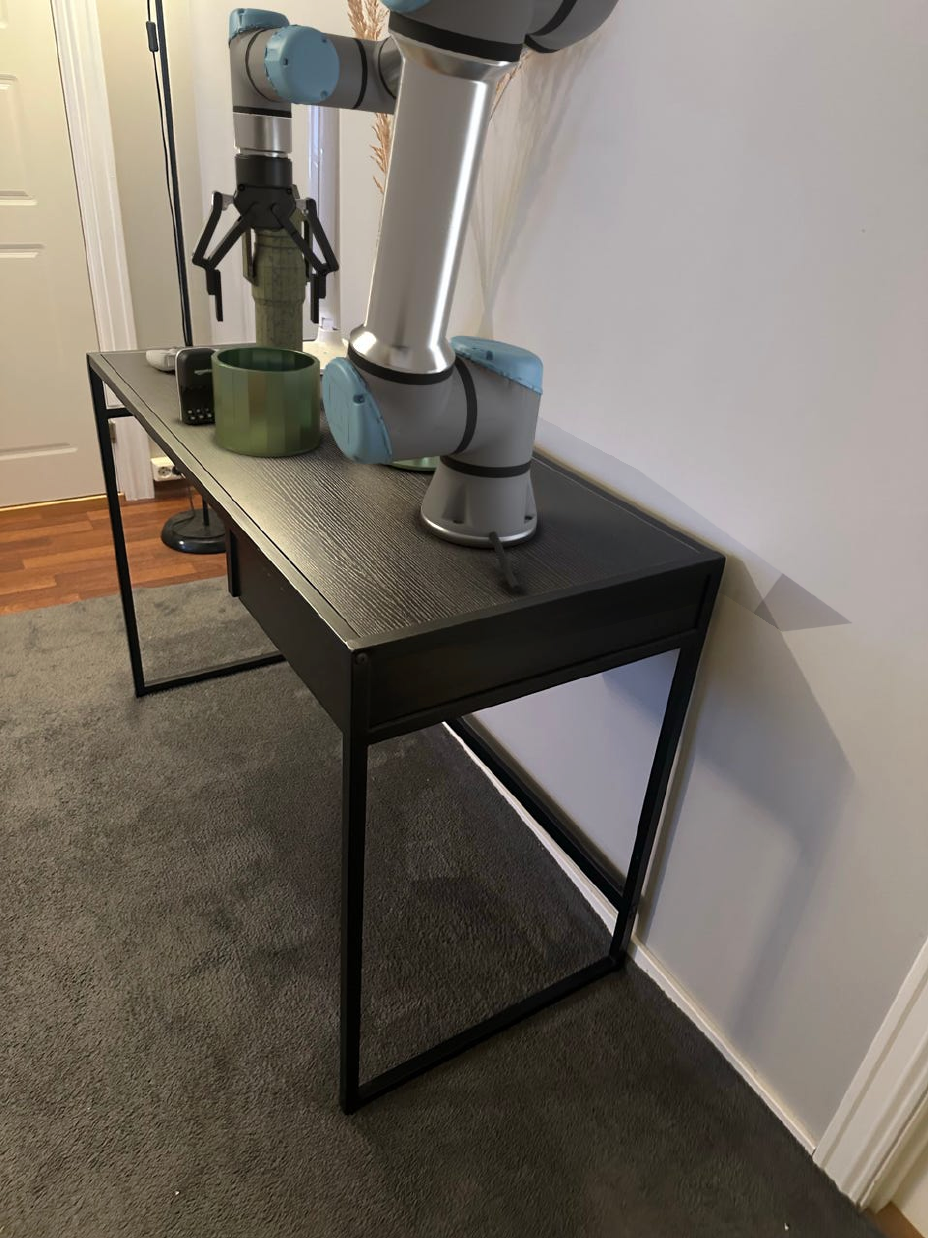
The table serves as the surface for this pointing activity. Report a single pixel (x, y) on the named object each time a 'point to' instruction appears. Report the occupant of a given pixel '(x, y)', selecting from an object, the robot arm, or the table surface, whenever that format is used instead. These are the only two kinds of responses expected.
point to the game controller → (163, 358)
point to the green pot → (266, 400)
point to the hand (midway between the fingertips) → (268, 321)
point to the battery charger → (195, 385)
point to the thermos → (278, 282)
